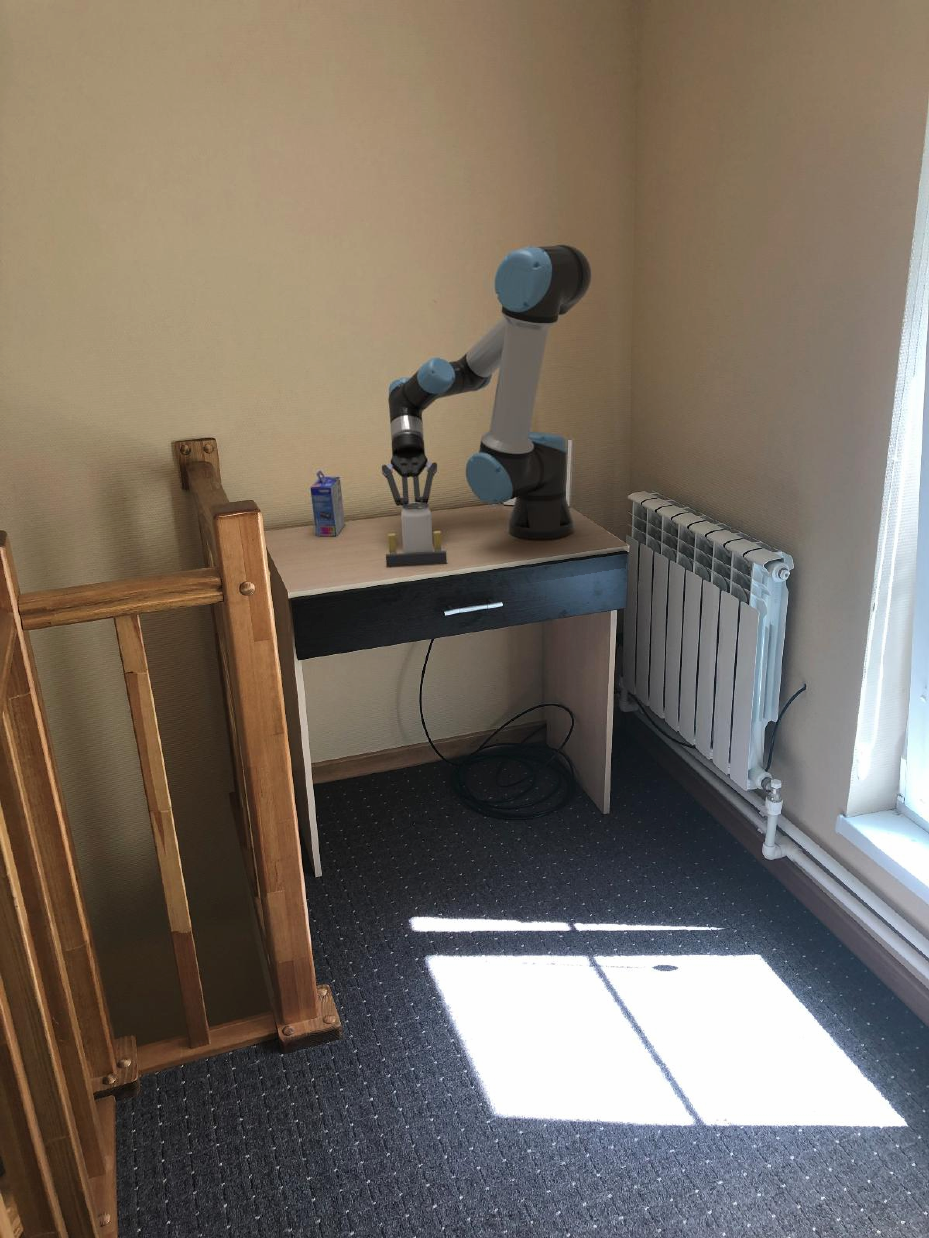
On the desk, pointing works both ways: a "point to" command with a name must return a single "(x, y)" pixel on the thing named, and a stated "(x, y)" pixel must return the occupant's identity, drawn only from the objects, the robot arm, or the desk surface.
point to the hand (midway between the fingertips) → (413, 530)
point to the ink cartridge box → (327, 505)
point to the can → (416, 528)
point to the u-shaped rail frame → (416, 554)
